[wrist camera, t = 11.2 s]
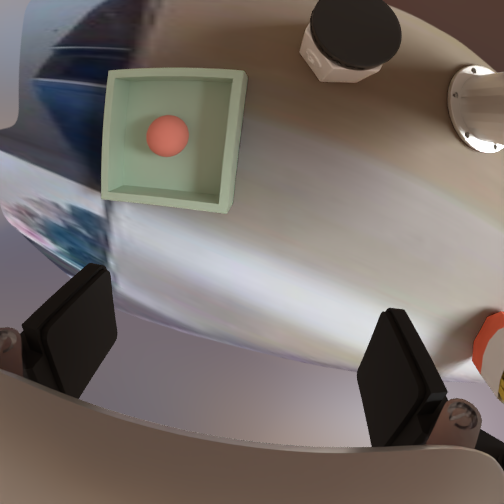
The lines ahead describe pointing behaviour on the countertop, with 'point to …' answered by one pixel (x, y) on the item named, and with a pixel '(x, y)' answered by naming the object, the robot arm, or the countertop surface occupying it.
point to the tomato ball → (167, 136)
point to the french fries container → (491, 353)
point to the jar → (350, 39)
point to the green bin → (199, 143)
